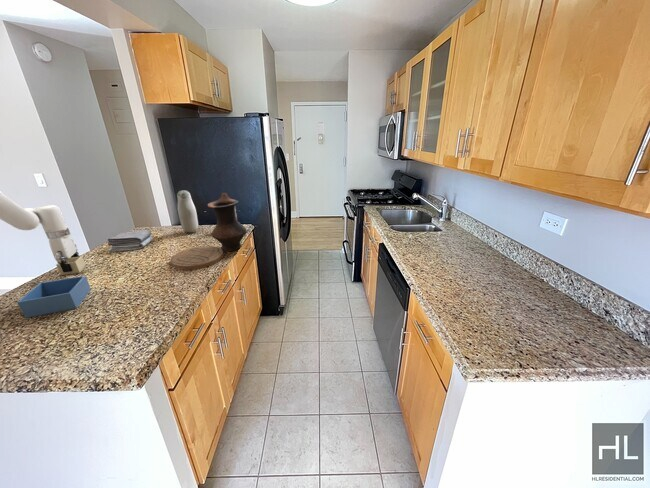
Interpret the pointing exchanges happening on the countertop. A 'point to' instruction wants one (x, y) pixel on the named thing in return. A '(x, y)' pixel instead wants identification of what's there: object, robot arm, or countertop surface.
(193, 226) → the white rounded column
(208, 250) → the trivet
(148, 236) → the towel
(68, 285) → the blue bin
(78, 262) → the cream bin
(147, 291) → the countertop surface
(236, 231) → the jug
